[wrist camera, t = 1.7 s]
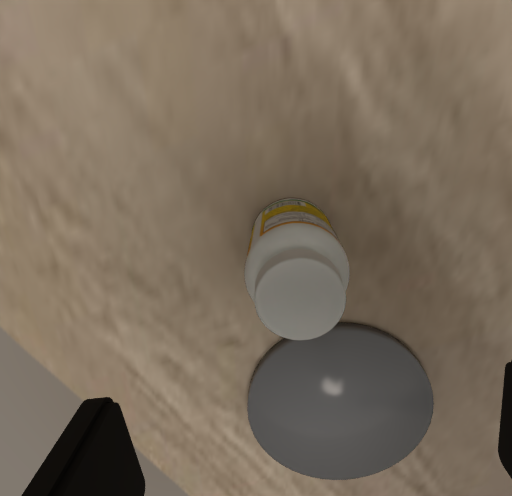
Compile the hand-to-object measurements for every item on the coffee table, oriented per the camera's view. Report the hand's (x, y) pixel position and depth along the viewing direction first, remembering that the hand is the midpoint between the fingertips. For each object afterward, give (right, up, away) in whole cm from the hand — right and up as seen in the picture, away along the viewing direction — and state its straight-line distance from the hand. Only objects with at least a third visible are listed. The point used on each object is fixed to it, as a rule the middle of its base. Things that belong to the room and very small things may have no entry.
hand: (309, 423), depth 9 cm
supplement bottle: (+1, +5, +16) cm, 17 cm away
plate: (+5, -8, +20) cm, 22 cm away
